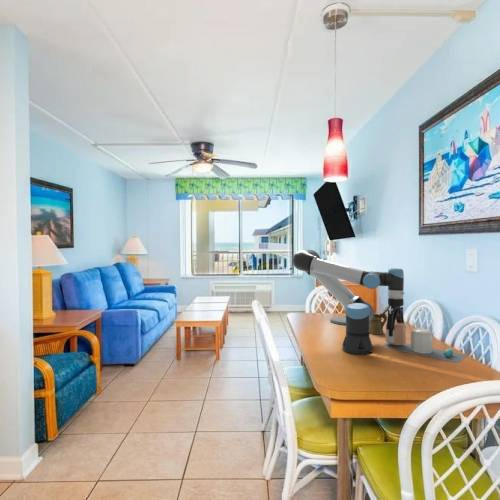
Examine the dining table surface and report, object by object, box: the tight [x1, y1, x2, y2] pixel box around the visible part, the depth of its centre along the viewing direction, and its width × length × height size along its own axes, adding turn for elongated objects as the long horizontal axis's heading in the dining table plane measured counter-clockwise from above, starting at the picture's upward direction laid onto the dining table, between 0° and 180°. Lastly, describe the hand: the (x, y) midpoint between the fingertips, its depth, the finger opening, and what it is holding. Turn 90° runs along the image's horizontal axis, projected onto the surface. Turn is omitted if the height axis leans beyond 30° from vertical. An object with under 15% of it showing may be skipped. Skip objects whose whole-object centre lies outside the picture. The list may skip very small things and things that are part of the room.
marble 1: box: [443, 350, 451, 357], centre depth 161 cm, size 3×3×3 cm
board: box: [379, 342, 468, 364], centre depth 171 cm, size 16×36×2 cm, turn 44°
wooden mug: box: [369, 305, 391, 335], centre depth 211 cm, size 9×14×18 cm, turn 75°
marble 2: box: [445, 348, 454, 355], centre depth 163 cm, size 3×3×3 cm
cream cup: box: [410, 327, 434, 353], centre depth 171 cm, size 9×9×10 cm
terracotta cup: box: [385, 321, 407, 345], centre depth 180 cm, size 9×9×10 cm
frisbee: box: [330, 316, 346, 326], centre depth 239 cm, size 20×27×3 cm
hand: (395, 340), depth 180 cm, fingers open, 9 cm apart
